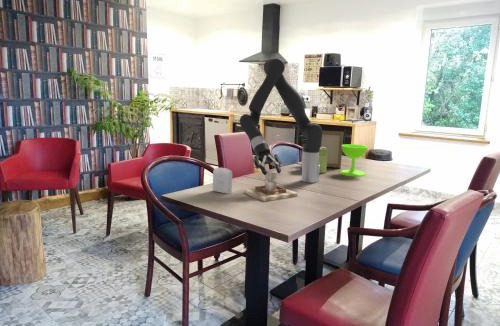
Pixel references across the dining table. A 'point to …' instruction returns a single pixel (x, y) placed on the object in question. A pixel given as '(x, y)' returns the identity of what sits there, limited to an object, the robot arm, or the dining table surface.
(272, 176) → the bobbin
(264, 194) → the cradle board
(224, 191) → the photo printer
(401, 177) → the dining table surface
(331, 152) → the photo frame
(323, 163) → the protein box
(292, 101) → the robot arm
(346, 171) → the wineglass
